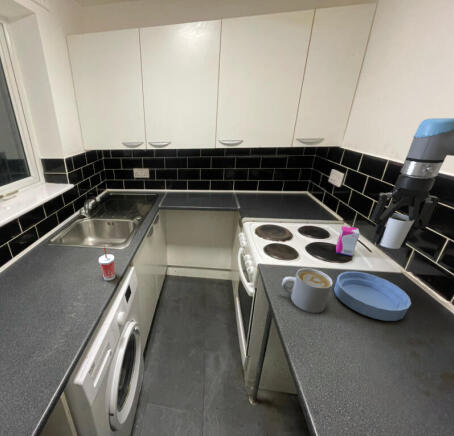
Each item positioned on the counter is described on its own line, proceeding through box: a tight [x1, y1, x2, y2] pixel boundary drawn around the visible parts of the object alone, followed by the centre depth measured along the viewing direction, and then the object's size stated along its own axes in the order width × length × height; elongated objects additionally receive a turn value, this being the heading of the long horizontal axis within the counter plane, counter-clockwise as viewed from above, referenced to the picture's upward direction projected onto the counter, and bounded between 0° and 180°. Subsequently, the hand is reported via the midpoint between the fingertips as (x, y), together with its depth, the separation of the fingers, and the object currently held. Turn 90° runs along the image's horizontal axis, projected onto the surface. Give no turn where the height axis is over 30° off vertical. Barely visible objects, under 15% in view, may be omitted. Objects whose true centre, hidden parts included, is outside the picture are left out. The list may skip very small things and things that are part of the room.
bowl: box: [333, 271, 412, 322], centre depth 76 cm, size 18×18×5 cm
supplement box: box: [335, 225, 361, 257], centre depth 101 cm, size 6×6×12 cm
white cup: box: [378, 212, 414, 250], centre depth 75 cm, size 7×7×10 cm
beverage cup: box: [98, 247, 116, 282], centre depth 91 cm, size 6×6×14 cm
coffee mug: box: [281, 267, 334, 314], centre depth 76 cm, size 13×10×10 cm
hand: (388, 243), depth 77 cm, fingers closed on white cup, 6 cm apart
